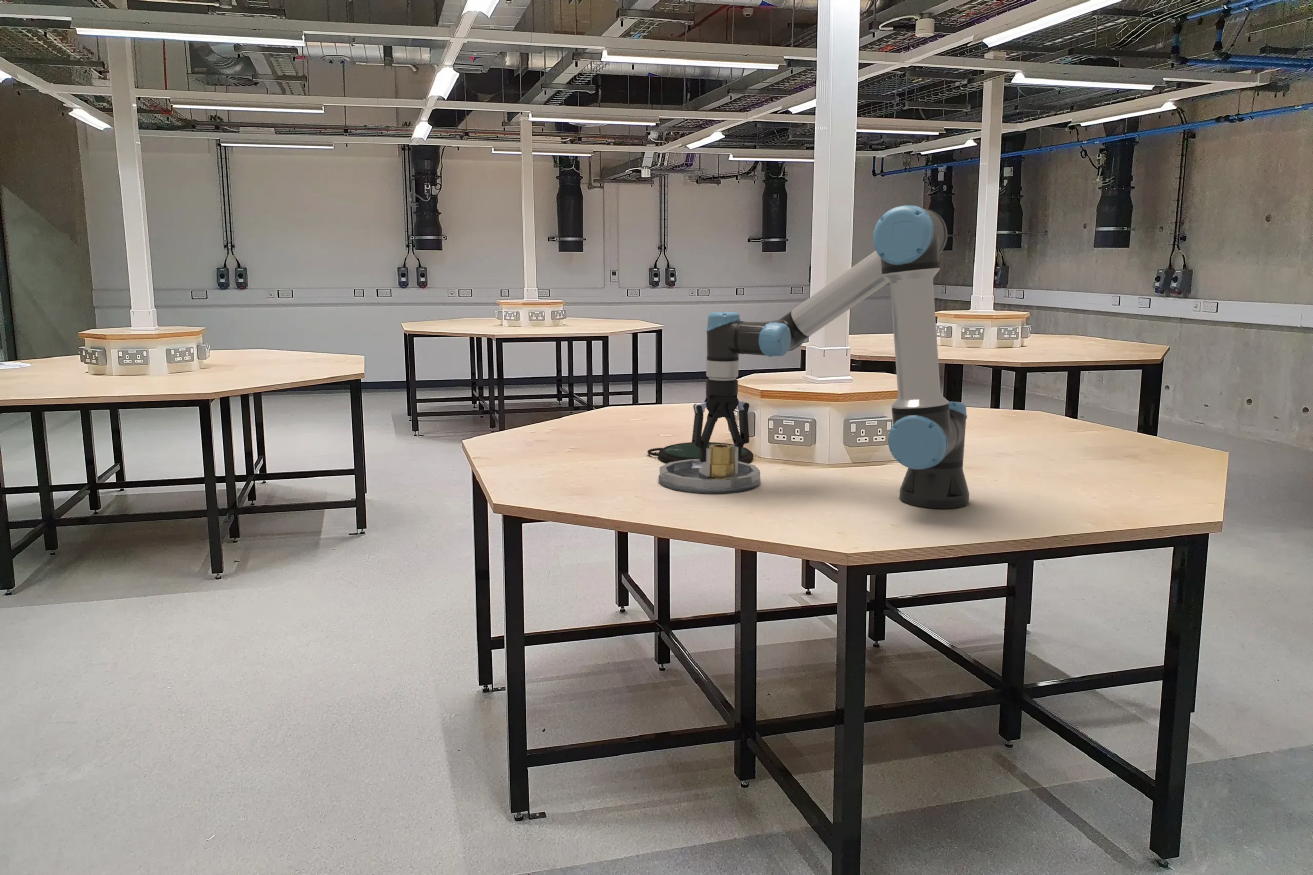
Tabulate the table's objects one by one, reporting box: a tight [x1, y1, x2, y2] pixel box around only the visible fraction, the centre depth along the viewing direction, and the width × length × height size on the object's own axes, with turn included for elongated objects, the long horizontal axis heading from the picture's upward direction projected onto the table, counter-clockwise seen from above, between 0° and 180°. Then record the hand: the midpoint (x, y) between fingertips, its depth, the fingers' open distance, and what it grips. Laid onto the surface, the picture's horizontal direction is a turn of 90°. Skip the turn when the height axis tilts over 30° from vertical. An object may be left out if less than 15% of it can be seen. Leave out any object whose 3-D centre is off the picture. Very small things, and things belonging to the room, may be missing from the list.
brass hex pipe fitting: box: [709, 444, 734, 478], centre depth 220 cm, size 6×6×7 cm
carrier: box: [658, 459, 761, 495], centre depth 227 cm, size 25×25×8 cm
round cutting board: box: [647, 441, 754, 464], centre depth 256 cm, size 26×3×30 cm
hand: (720, 473), depth 221 cm, fingers closed on brass hex pipe fitting, 7 cm apart
